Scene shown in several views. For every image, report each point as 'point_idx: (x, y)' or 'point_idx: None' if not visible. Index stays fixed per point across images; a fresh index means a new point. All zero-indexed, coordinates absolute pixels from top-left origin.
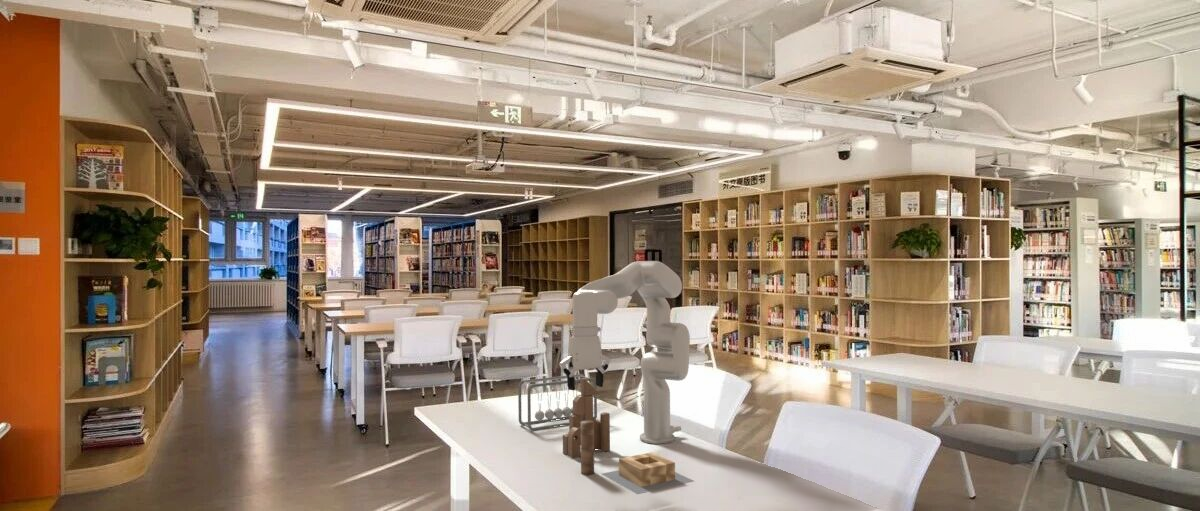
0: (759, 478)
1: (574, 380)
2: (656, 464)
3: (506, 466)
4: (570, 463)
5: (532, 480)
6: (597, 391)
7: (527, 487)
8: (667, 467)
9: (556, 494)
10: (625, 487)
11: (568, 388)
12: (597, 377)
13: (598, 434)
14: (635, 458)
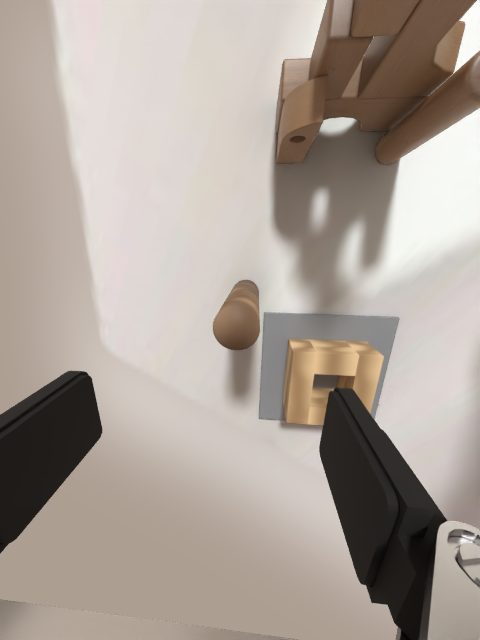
0: (469, 462)
1: (36, 510)
2: None
3: (109, 134)
4: (251, 204)
5: (137, 263)
6: None
7: (119, 293)
8: None
9: (153, 348)
10: (260, 389)
11: (73, 371)
12: (354, 481)
13: (406, 104)
14: (322, 370)
